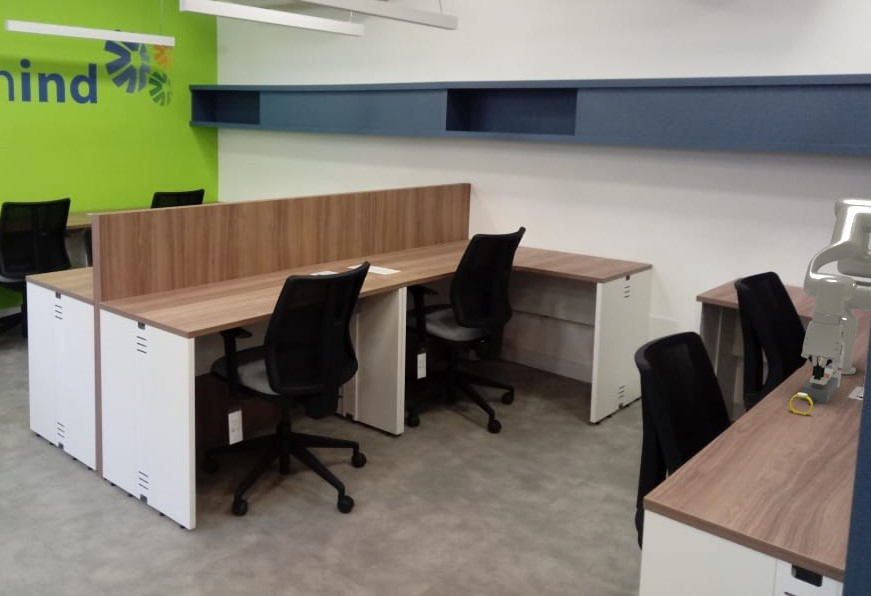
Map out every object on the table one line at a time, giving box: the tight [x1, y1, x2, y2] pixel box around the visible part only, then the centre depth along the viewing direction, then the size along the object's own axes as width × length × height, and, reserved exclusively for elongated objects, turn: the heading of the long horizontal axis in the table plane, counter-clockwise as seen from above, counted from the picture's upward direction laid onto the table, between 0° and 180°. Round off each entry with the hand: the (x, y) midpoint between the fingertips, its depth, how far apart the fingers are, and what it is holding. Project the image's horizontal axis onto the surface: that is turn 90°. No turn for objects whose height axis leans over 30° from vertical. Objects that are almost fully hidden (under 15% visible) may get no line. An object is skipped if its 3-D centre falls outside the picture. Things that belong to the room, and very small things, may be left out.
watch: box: [788, 392, 814, 416], centre depth 226 cm, size 6×3×6 cm, turn 55°
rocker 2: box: [823, 368, 833, 381], centre depth 247 cm, size 6×4×2 cm
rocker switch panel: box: [800, 376, 838, 406], centre depth 243 cm, size 22×7×5 cm, turn 145°
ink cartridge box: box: [819, 343, 845, 389], centre depth 255 cm, size 9×5×15 cm, turn 168°
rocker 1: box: [809, 376, 828, 385], centre depth 240 cm, size 6×4×2 cm
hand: (817, 378), depth 237 cm, fingers closed
